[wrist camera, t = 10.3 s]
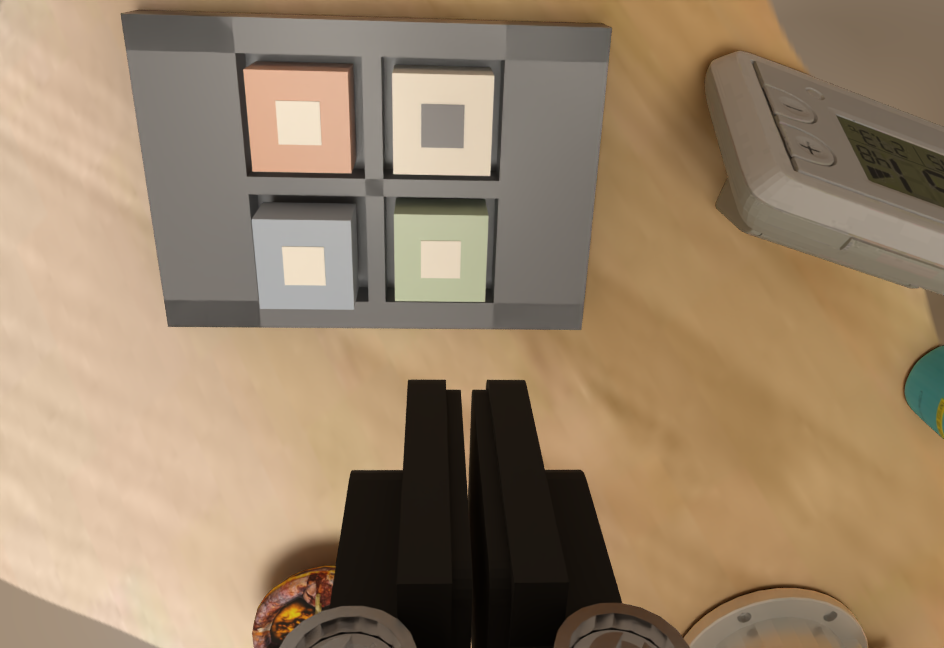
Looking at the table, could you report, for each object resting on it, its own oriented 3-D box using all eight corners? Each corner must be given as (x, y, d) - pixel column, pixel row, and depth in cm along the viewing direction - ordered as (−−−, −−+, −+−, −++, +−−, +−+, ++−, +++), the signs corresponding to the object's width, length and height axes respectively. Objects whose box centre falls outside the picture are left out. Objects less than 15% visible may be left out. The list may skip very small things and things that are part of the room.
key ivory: (490, 67, 34) (494, 75, 32) (486, 161, 36) (490, 176, 34) (394, 64, 34) (391, 73, 32) (395, 159, 36) (393, 174, 34)
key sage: (485, 199, 37) (488, 216, 35) (481, 281, 39) (485, 302, 37) (396, 198, 37) (393, 214, 35) (397, 280, 39) (394, 301, 36)
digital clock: (1012, 164, 38) (1206, 236, 29) (884, 310, 41) (1020, 420, 32) (756, -21, 34) (883, -8, 24) (636, 158, 37) (706, 231, 28)
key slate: (355, 203, 36) (350, 221, 34) (358, 288, 38) (354, 310, 35) (262, 202, 36) (251, 219, 33) (270, 287, 37) (259, 309, 35)
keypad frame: (602, 23, 34) (612, 27, 33) (574, 312, 40) (581, 329, 39) (137, 9, 33) (120, 13, 31) (180, 309, 39) (168, 326, 38)
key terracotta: (353, 63, 34) (347, 72, 32) (356, 159, 36) (351, 173, 34) (255, 61, 34) (242, 69, 32) (263, 157, 36) (252, 172, 33)
